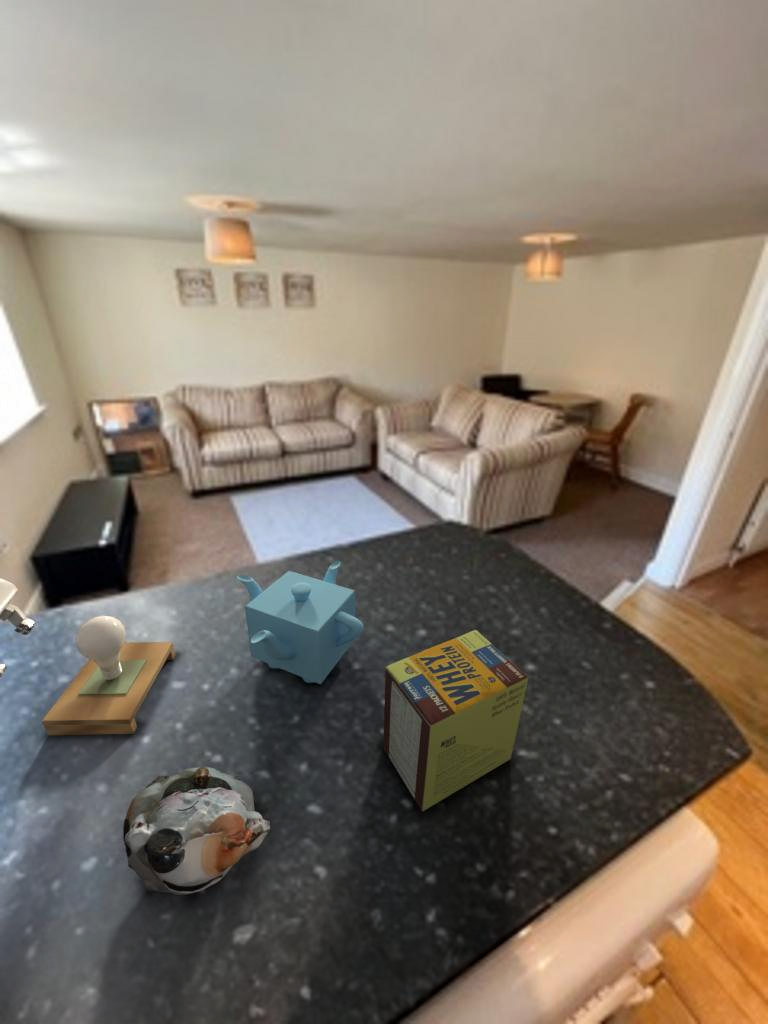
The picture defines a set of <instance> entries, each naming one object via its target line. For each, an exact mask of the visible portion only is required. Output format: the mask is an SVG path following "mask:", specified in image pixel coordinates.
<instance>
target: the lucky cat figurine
mask: <svg viewBox="0 0 768 1024" xmlns="http://www.w3.org/2000/svg"><path fill="white" fill-rule="evenodd" d="M254 799H255V798H254V794H253V790H252V788H251V787H250V786H249V784H247V783H246V782H245V781H242V780H241V777H239V776H238V775H236V776H235V775H231V774H228V773H226V772H221V771H220V770H219V769H218V768H216V769H215V768H214V767H210V766H198V767H197V766H196V767H188V768H185V769H183V770H181V771H179V772H178V773H176V774H174V775H170V776H169V775H168V776H167V775H159V776H157V777H156V778H155V779H154V780H153V781H151V782H150V783H148V784H147V785H146V786H145V787H144V788H142V789H141V790H140V791H139V792H138V793H137V794H136V795H135V796H134V798H133V799H132V800H131V802H130V804H129V806H128V809H127V810H126V814H125V817H124V820H123V821H124V822H123V829H122V833H123V834H122V839H123V843H124V847H125V855H126V858H127V866H128V868H129V869H131V870H132V871H133V872H134V873H135V874H136V876H138V878H139V879H141V881H142V882H143V885H144V886H145V888H146V890H149V891H150V892H152V893H167V894H174V895H178V896H184V895H185V896H186V895H191V894H194V893H198V892H199V893H200V892H202V891H203V890H205V889H207V888H209V887H211V886H213V885H215V884H217V883H218V882H220V881H221V880H222V879H223V878H224V877H225V876H226V875H227V874H228V873H229V872H230V870H231V869H232V867H233V866H234V865H236V864H237V863H239V861H240V859H242V857H244V856H245V855H246V854H248V853H250V852H252V851H254V850H256V849H258V848H259V847H260V845H261V844H262V843H263V841H264V839H265V838H266V836H267V835H268V833H269V832H270V831H271V826H270V824H271V822H270V820H266V819H264V818H263V816H262V814H261V813H260V812H258V811H256V810H255V800H254Z"/></svg>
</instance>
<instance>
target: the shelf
mask: <svg viewBox="0 0 768 1024" xmlns="http://www.w3.org/2000/svg"><path fill="white" fill-rule="evenodd" d="M175 657H176V652H175V648H174V642H173V641H149V642H148V641H135V642H134V641H128V642H127V641H125V642H124V644H123V646H122V648H121V650H120V658H119V661H120V664H121V668H122V673H121V674H120V675H119V676H118V677H116V678H114V679H111V680H106V679H104V678H103V676H102V673H101V670H100V667H99V666H97V665H96V663H95V662H94V661H93V660H91V659H89V658H88V660H87V661H86V662H85V664H84V665H83V667H82V668H81V669H80V670H79V672H78V673H77V674H76V676H75V677H74V679H72V681H71V682H70V683H69V685H67V687H66V689H65V690H64V691H63V692H62V694H61V695H60V697H59V698H58V699H57V701H56V702H55V703H54V704H53V706H52V707H51V709H50V710H49V711H48V712H47V714H46V715H44V717H43V719H42V720H41V722H42V725H43V727H44V729H45V731H46V734H47V735H48V736H79V735H80V736H85V735H87V736H88V735H133V734H135V732H136V730H137V728H138V725H137V722H136V718H135V717H136V716H137V713H138V711H139V710H140V708H141V706H142V705H143V703H144V700H145V699H146V697H147V695H148V694H149V692H150V689H151V688H152V686H153V685H154V683H155V681H156V679H157V677H158V675H159V673H160V672H161V670H162V668H163V666H164V664H165V663H166V661H172V660H174V658H175Z"/></svg>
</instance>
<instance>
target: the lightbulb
mask: <svg viewBox="0 0 768 1024" xmlns="http://www.w3.org/2000/svg"><path fill="white" fill-rule="evenodd" d="M126 638H127V632H126V627H125V626H124V624H123V623H122V621H120V620H119V619H118V618H116V617H114V616H111V615H98V616H95V617H92V618H89V619H88V620H87V621H85V622H84V623H83V624H82V625H81V626H80V627H79V628H78V631H77V632H76V636H75V646H76V648H77V651H78V652H79V653H80V655H82V656H83V657H85V658H86V659H88V660H89V659H91V660H93V661H94V662H95V663H96V665H97V666H99V667H100V670H101V673H102V676H103V678H104V679H106V680H111V679H114V678H116V677H118V676H119V675H120V674H121V673H122V668H121V664H120V661H119V658H120V650H121V648H122V646H123V644H124V642H126Z"/></svg>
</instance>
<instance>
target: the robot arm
mask: <svg viewBox="0 0 768 1024" xmlns="http://www.w3.org/2000/svg"><path fill="white" fill-rule="evenodd" d="M18 593H19V589H18V587H17V586H16V585H15V584H14V583H13V582H10V581H8V580H6V579H4V578H1V577H0V621H3V622H6V621H8V622H9V623H11V624H12V626H14V627H15V628H14V629H13V630H14V632H16V633H18V634H21V635H22V636H27V635H29V634H30V633H31V631H32V630H33V629H34V627H35V626H36V624H37V622H36V621H35V620H33V619H31V618H29V617H26V615H25V614H24V613H23V612H22V610H21V609H20V608H19V607H18V606H16V605H14V604H13V603H11V601H12V600H13V599H14V598H15V597H16V595H17V594H18ZM7 668H8V666H7V665H6V664H4V663H0V678H1V677H2V676H3V675H4V673H5V671H6V670H7Z"/></svg>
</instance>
